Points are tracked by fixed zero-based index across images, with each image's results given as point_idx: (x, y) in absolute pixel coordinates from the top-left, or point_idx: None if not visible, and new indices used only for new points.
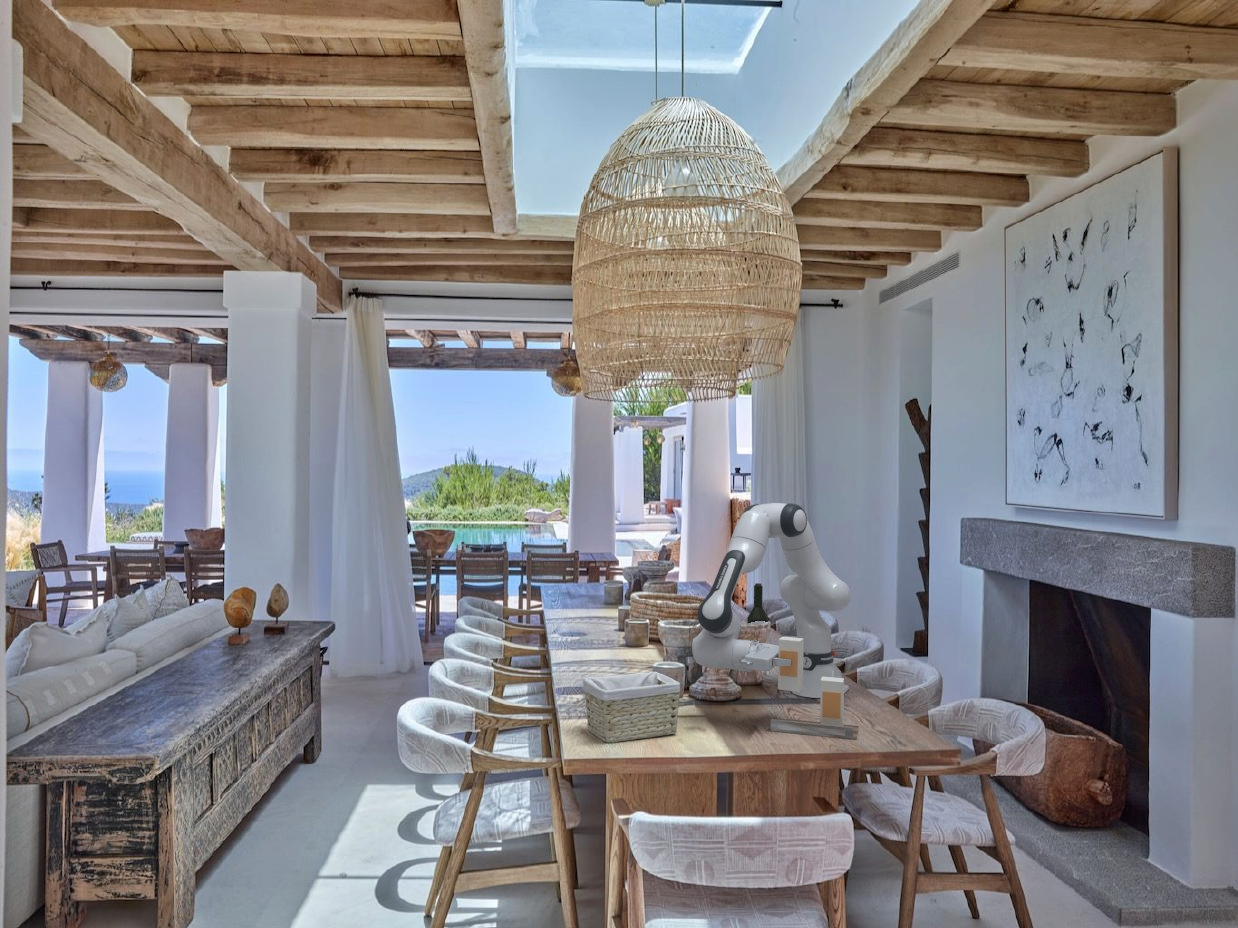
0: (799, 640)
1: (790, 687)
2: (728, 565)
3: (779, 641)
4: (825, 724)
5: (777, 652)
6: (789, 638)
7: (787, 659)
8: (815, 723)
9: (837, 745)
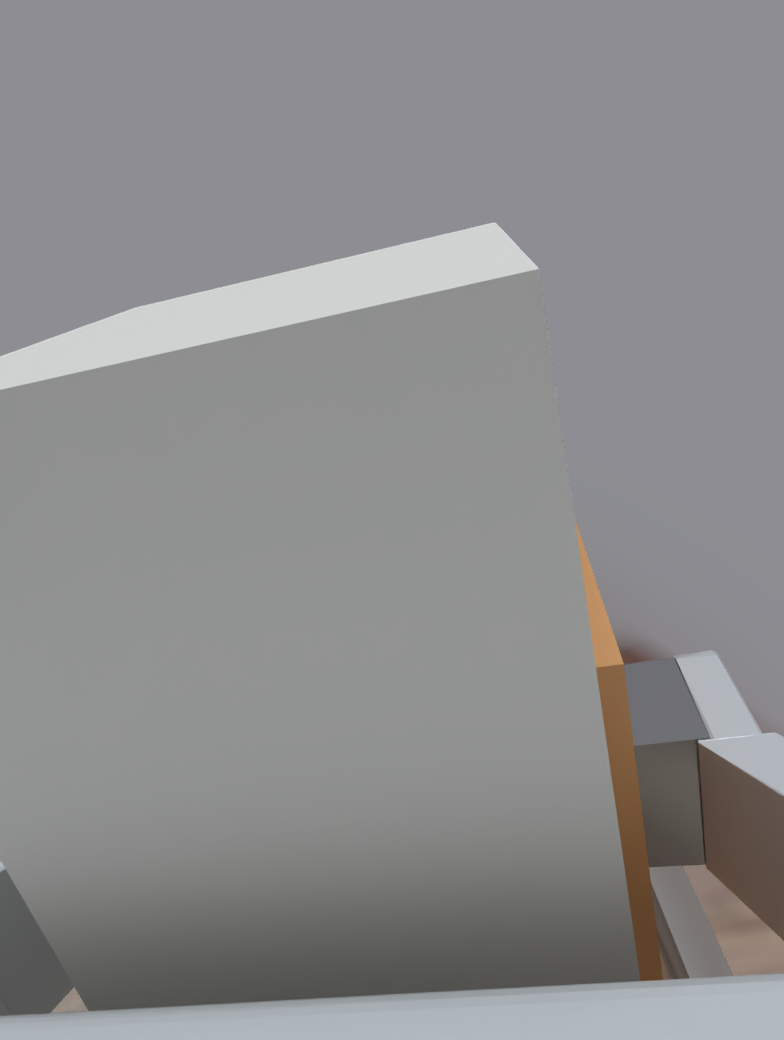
0: (409, 244)
1: None
2: None
3: (544, 374)
4: (661, 887)
5: (209, 1013)
6: (182, 318)
7: (715, 684)
8: (690, 965)
9: (708, 885)
